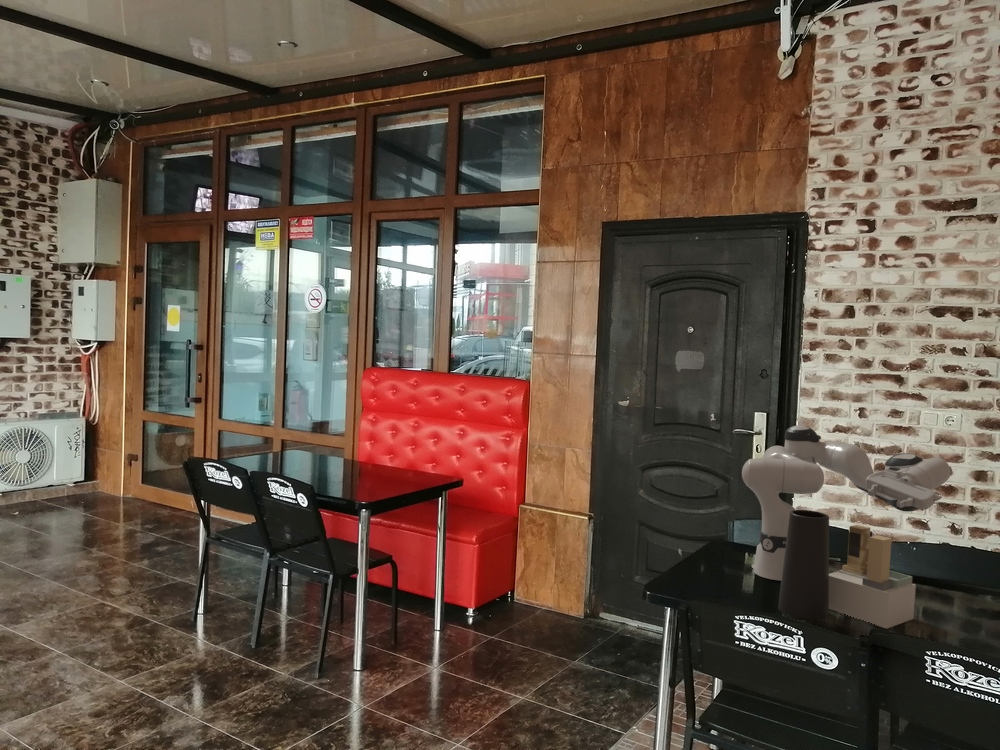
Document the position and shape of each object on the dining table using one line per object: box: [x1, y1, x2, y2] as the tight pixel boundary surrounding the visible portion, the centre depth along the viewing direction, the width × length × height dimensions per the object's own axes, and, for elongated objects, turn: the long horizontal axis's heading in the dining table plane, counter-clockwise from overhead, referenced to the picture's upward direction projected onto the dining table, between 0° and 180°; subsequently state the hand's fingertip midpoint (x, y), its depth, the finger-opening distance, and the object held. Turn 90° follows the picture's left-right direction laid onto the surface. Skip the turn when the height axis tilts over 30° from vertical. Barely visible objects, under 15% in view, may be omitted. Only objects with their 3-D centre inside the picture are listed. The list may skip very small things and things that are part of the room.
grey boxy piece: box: [829, 534, 917, 630], centre depth 234 cm, size 15×19×24 cm
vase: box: [777, 509, 830, 622], centre depth 233 cm, size 14×14×29 cm
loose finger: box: [841, 524, 871, 576], centre depth 240 cm, size 6×6×14 cm
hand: (884, 499), depth 244 cm, fingers open, 8 cm apart
